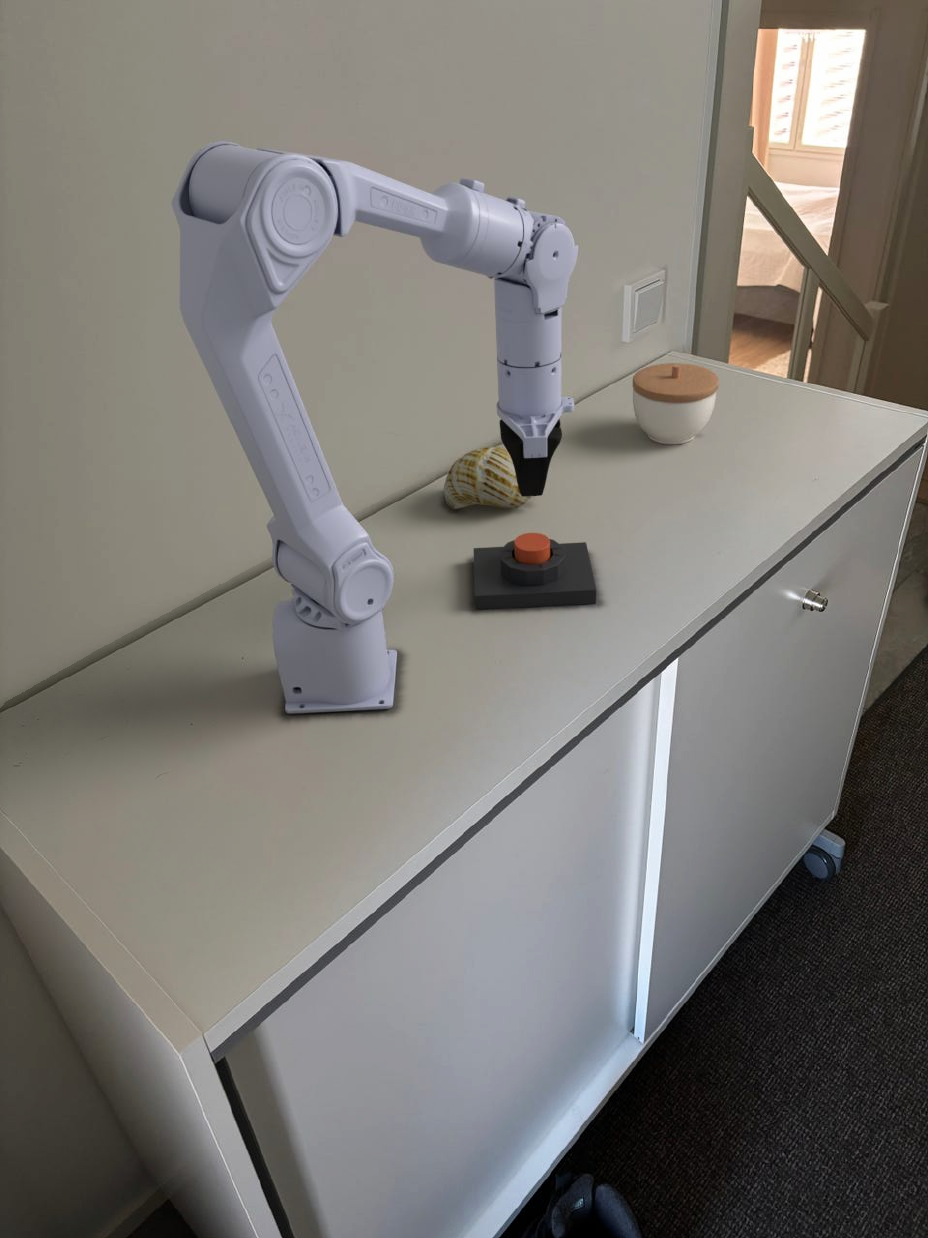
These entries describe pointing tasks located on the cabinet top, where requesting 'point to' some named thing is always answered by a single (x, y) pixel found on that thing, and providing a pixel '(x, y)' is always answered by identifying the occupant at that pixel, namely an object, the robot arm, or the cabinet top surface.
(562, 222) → the robot arm
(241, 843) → the cabinet top surface
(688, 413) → the trinket box
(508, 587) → the switch plate
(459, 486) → the seashell
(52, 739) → the cabinet top surface
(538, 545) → the switch button
